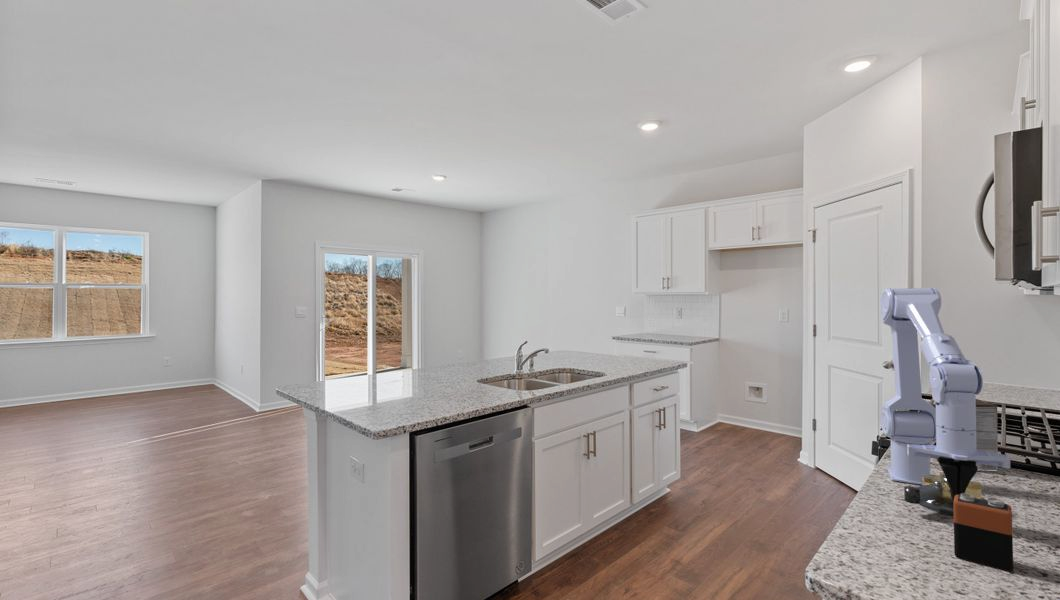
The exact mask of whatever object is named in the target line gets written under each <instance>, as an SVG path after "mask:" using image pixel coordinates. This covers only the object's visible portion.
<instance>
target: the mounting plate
mask: <svg viewBox="0 0 1060 600" xmlns="http://www.w3.org/2000/svg"><path fill="white" fill-rule="evenodd" d="M982 499H984V500H987V499H986V498H984V497H982ZM919 505H920V506H922V507H923V508H927V509H929V510H932V511H934V512H937V513H941V514H944V515H948V516H949V515H950V516H952V517H954V509H953V504H950V503H945V502H942V501H938V500H930V501H926V502H921V503H920V504H919Z"/></svg>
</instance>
